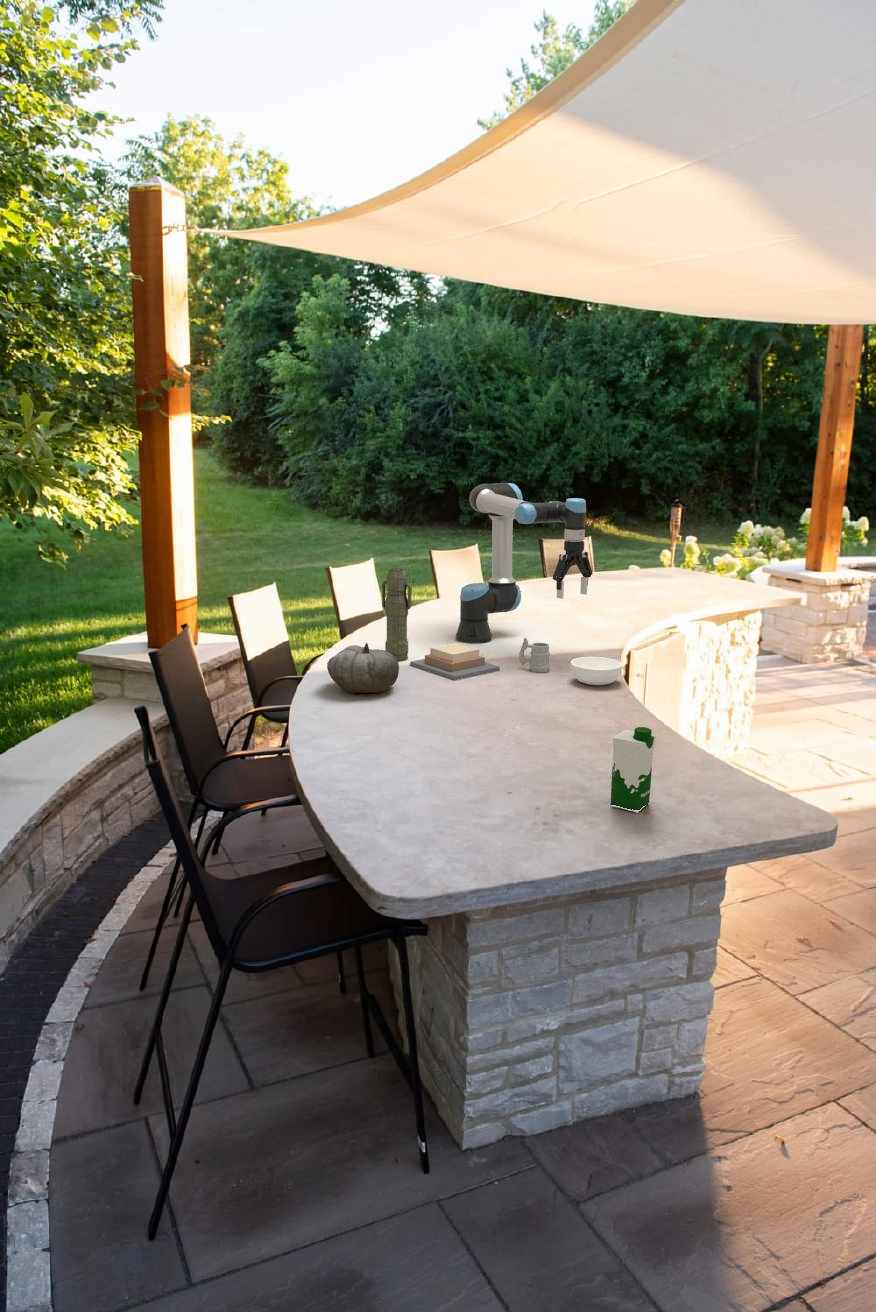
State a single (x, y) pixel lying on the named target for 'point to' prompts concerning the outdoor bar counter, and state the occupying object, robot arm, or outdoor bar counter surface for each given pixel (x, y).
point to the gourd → (363, 669)
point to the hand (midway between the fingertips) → (571, 596)
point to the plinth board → (457, 673)
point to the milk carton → (632, 768)
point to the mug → (536, 656)
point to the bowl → (596, 670)
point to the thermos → (397, 612)
